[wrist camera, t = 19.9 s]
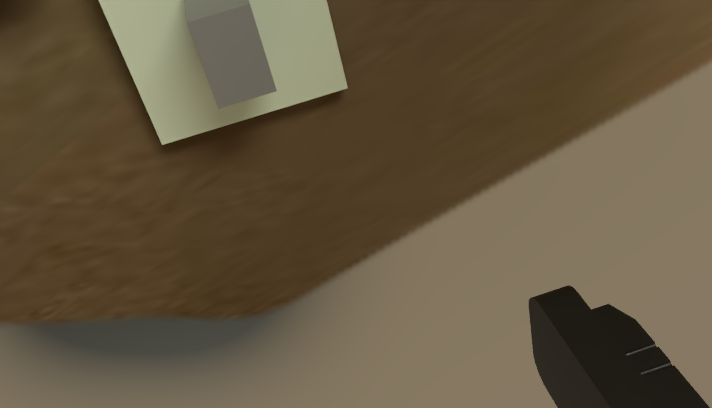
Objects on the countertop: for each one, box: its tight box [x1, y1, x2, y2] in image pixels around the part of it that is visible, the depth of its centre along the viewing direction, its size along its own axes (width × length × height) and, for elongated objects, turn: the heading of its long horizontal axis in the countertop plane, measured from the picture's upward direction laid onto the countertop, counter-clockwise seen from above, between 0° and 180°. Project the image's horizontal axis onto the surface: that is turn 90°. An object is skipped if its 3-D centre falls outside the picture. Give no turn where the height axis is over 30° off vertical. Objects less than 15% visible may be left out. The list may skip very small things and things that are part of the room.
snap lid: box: [99, 0, 348, 145], centre depth 28 cm, size 9×9×6 cm
